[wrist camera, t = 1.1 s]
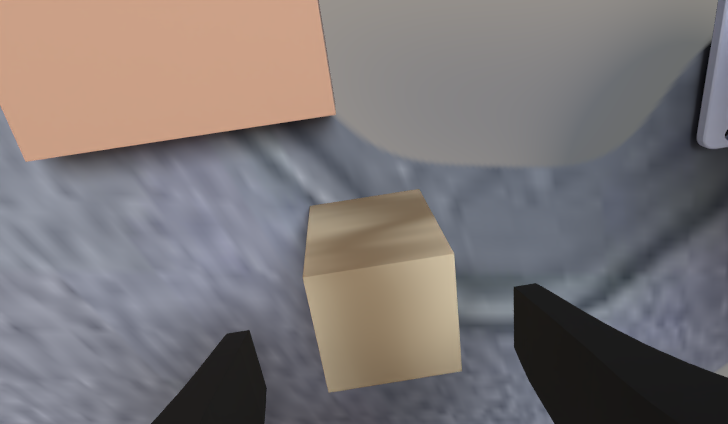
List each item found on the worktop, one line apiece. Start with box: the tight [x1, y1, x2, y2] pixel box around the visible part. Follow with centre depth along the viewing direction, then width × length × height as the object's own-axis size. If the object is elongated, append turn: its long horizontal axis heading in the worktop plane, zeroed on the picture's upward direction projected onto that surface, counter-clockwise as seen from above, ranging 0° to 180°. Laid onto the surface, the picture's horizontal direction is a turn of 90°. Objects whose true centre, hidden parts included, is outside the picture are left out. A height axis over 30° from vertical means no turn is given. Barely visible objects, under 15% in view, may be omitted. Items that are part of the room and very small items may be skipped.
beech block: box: [303, 189, 462, 393], centre depth 15 cm, size 4×4×5 cm
